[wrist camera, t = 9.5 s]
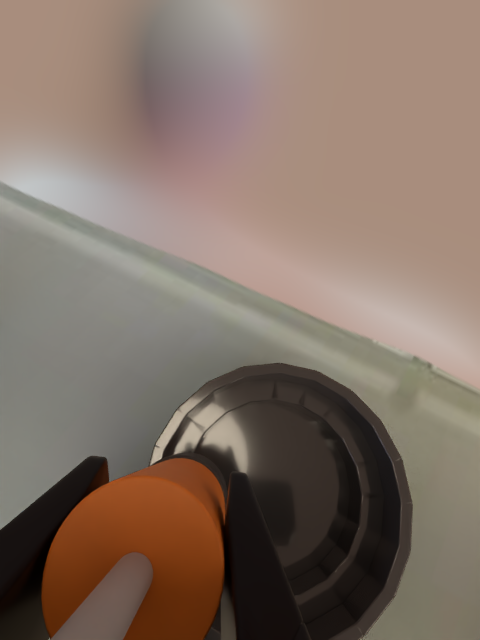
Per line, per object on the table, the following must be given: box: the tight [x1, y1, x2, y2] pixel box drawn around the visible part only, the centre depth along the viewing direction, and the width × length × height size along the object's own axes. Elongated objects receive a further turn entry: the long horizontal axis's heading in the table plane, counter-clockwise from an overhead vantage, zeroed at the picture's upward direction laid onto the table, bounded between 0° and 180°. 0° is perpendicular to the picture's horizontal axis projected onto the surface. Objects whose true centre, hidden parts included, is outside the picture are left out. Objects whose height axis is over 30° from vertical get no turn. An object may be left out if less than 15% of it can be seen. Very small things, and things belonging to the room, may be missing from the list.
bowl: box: [148, 363, 413, 640], centre depth 19 cm, size 13×13×4 cm
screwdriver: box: [41, 452, 228, 640], centre depth 9 cm, size 3×3×12 cm
